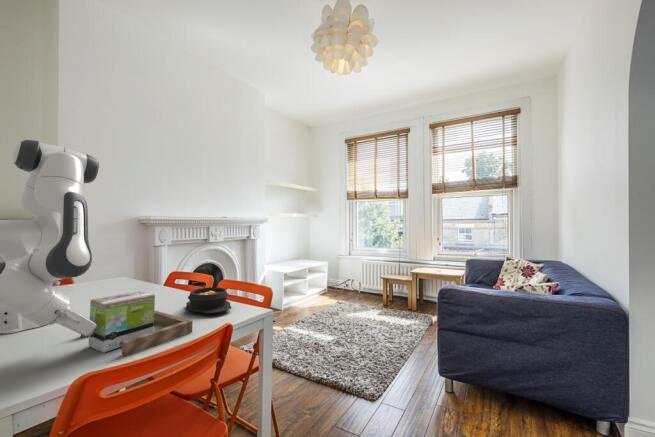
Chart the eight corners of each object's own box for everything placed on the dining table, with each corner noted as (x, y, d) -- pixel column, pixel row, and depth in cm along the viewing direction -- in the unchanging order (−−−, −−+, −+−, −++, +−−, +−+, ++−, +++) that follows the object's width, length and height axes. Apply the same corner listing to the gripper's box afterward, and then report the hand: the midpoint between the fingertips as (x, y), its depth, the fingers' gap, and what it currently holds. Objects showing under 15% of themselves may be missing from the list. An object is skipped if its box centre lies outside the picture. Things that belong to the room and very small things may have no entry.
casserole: (241, 311, 130) (242, 292, 130) (199, 321, 117) (200, 300, 117) (215, 300, 147) (215, 283, 147) (175, 307, 134) (176, 289, 134)
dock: (125, 356, 86) (125, 342, 86) (80, 336, 100) (81, 324, 100) (192, 332, 105) (192, 320, 105) (147, 318, 119) (147, 308, 119)
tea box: (104, 354, 87) (105, 304, 87) (87, 346, 92) (88, 299, 92) (154, 336, 100) (155, 293, 101) (137, 331, 105) (138, 289, 105)
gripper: (76, 304, 79) (116, 329, 87) (45, 293, 89) (84, 317, 97) (54, 325, 75) (98, 350, 83) (24, 312, 85) (66, 335, 93)
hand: (90, 332), depth 90 cm, fingers closed, pressing on tea box
